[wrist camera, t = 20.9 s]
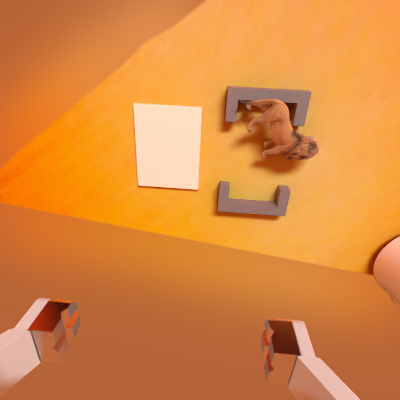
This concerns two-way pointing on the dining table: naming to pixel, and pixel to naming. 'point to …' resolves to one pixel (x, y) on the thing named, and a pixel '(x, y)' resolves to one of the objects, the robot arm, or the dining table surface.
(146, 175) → the ceramic tile
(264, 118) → the lion figurine
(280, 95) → the grey bracket pair
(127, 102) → the dining table surface
